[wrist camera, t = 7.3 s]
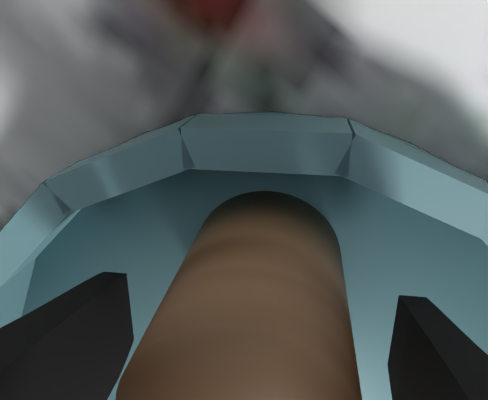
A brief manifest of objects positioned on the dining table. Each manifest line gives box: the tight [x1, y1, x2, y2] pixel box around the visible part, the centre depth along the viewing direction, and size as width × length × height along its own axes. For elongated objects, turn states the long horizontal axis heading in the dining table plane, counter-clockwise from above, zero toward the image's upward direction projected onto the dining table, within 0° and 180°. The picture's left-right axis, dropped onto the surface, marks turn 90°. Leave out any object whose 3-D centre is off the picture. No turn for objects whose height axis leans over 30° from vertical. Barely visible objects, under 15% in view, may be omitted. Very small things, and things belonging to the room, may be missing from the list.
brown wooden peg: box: [115, 191, 362, 400], centre depth 10 cm, size 4×4×6 cm
